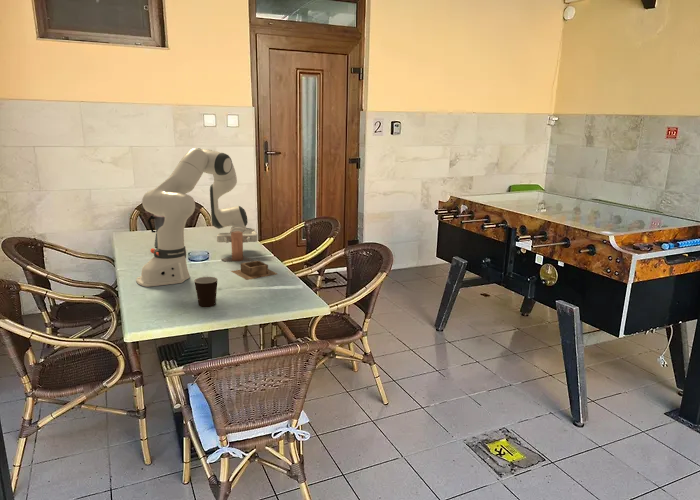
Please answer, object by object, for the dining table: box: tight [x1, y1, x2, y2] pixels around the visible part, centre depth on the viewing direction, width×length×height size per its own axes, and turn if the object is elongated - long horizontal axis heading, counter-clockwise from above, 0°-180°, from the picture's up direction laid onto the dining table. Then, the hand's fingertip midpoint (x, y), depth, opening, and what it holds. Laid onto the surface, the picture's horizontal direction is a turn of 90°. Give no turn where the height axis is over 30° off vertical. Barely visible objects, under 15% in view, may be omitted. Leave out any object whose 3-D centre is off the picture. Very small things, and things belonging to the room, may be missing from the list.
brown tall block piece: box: [230, 231, 244, 262], centre depth 262 cm, size 8×6×14 cm
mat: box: [221, 255, 255, 263], centre depth 265 cm, size 12×12×1 cm
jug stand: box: [230, 260, 278, 281], centre depth 242 cm, size 16×16×5 cm
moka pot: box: [147, 214, 165, 248], centre depth 288 cm, size 10×15×20 cm, turn 148°
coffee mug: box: [194, 276, 218, 309], centre depth 204 cm, size 12×9×10 cm
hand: (236, 241), depth 261 cm, fingers open, 8 cm apart
